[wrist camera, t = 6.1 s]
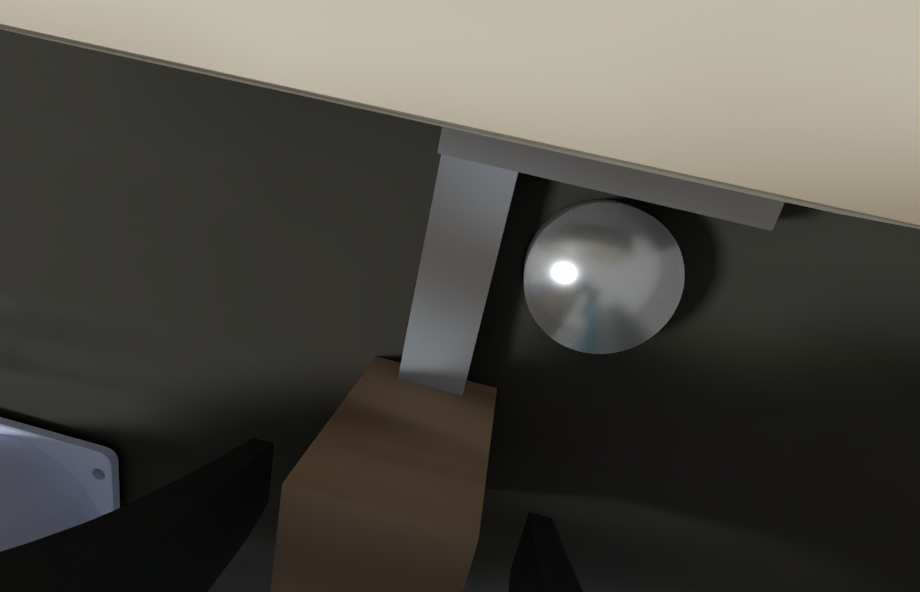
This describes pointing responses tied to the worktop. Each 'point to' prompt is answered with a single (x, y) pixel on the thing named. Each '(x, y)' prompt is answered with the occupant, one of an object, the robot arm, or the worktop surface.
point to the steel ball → (602, 276)
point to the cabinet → (578, 78)
